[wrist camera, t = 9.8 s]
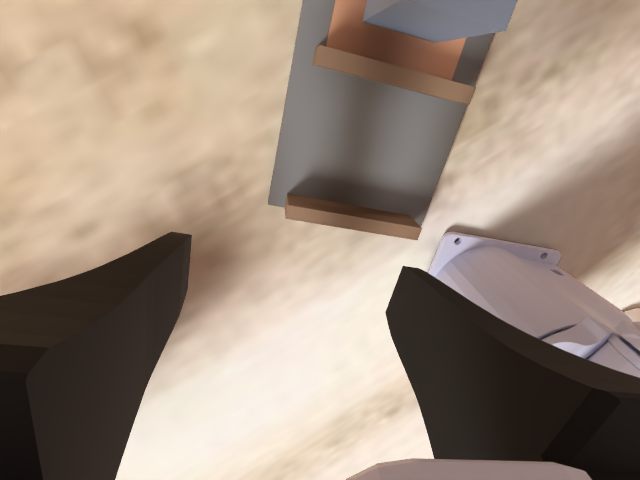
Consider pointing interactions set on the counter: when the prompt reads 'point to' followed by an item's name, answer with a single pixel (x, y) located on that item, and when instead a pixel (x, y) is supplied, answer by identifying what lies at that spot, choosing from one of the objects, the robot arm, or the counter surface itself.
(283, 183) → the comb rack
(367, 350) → the counter surface
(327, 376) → the counter surface
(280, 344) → the counter surface
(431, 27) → the plug block
